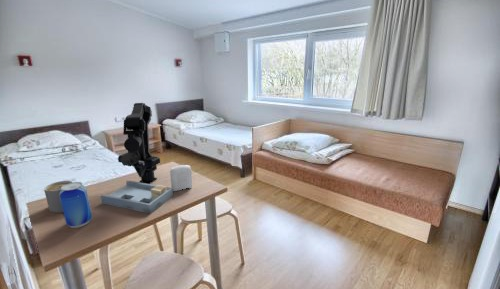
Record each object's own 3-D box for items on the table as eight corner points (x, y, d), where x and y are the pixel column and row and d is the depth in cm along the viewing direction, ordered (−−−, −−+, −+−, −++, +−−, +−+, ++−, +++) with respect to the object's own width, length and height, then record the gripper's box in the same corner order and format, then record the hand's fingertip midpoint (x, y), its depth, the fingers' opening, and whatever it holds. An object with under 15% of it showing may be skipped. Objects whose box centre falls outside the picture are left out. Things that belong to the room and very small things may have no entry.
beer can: (64, 231, 94) (55, 192, 89) (69, 219, 101) (61, 183, 96) (90, 226, 97) (82, 188, 92) (93, 214, 104) (86, 179, 100)
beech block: (158, 192, 119) (157, 184, 118) (167, 194, 117) (166, 186, 116) (151, 197, 114) (150, 189, 113) (160, 199, 113) (160, 191, 112)
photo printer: (191, 184, 131) (189, 162, 128) (193, 188, 128) (191, 165, 124) (170, 188, 127) (168, 165, 123) (172, 192, 123) (170, 169, 119)
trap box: (128, 187, 127) (127, 180, 126) (172, 195, 120) (172, 188, 119) (102, 203, 113) (100, 195, 112) (150, 213, 105) (149, 205, 104)
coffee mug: (46, 206, 110) (41, 186, 107) (73, 198, 117) (69, 178, 114) (54, 218, 101) (49, 196, 98) (83, 208, 108) (78, 187, 105)
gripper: (105, 147, 107) (111, 181, 112) (141, 152, 102) (146, 187, 106) (125, 140, 117) (129, 171, 122) (159, 144, 112) (162, 177, 116)
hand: (141, 176), depth 116 cm, fingers closed
